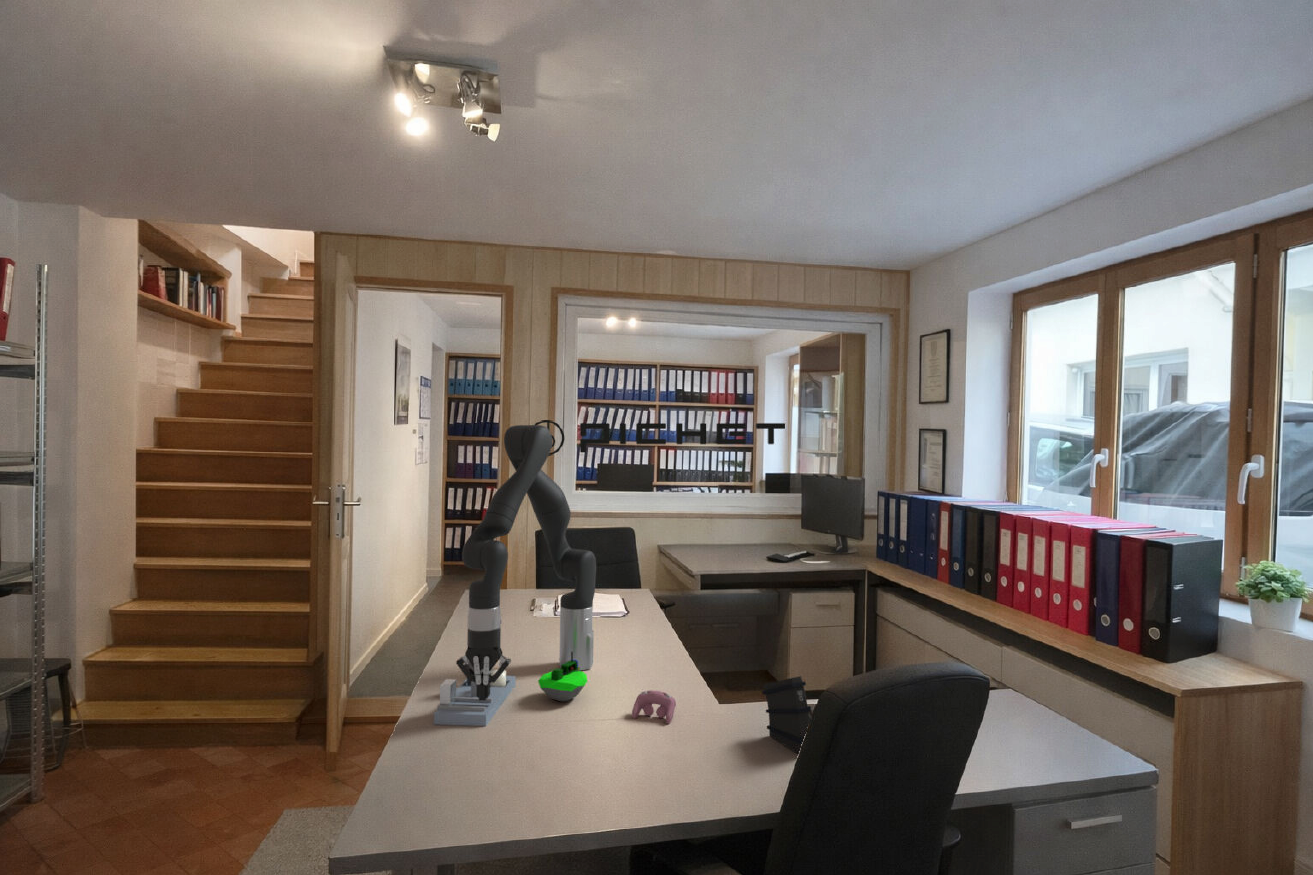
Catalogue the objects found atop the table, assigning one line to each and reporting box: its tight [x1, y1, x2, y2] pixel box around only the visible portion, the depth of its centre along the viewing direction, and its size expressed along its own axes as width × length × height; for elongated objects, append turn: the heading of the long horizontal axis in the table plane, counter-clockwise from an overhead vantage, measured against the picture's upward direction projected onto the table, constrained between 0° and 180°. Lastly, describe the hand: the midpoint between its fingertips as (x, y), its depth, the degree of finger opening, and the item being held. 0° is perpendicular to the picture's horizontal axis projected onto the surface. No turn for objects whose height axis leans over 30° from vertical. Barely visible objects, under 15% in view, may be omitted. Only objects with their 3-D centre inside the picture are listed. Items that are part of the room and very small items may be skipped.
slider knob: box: [439, 678, 457, 706], centre depth 165 cm, size 2×4×5 cm, turn 177°
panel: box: [433, 675, 517, 727], centre depth 173 cm, size 12×26×6 cm, turn 177°
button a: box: [490, 669, 507, 687], centre depth 180 cm, size 4×4×5 cm
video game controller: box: [631, 690, 677, 724], centre depth 166 cm, size 10×5×7 cm, turn 72°
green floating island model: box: [537, 652, 588, 703], centre depth 177 cm, size 12×12×11 cm
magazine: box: [761, 676, 812, 754], centre depth 153 cm, size 4×13×15 cm, turn 28°
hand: (483, 699), depth 165 cm, fingers closed
